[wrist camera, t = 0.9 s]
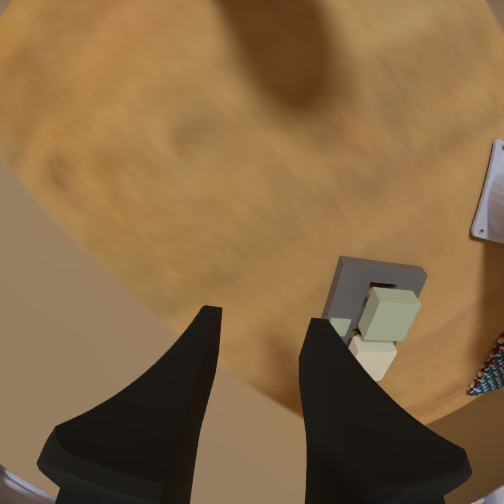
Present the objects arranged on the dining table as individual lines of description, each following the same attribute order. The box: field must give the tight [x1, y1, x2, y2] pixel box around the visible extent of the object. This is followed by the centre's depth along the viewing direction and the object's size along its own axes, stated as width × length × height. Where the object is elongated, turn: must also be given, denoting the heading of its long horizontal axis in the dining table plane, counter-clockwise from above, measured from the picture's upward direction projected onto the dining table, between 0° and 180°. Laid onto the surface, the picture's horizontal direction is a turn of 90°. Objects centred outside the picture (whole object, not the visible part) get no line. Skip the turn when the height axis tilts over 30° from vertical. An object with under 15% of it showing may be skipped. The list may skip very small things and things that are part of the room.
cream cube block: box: [348, 334, 397, 381], centre depth 21 cm, size 3×3×3 cm
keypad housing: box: [321, 256, 428, 347], centre depth 23 cm, size 7×13×1 cm, turn 173°
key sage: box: [358, 287, 421, 341], centre depth 19 cm, size 3×3×3 cm
